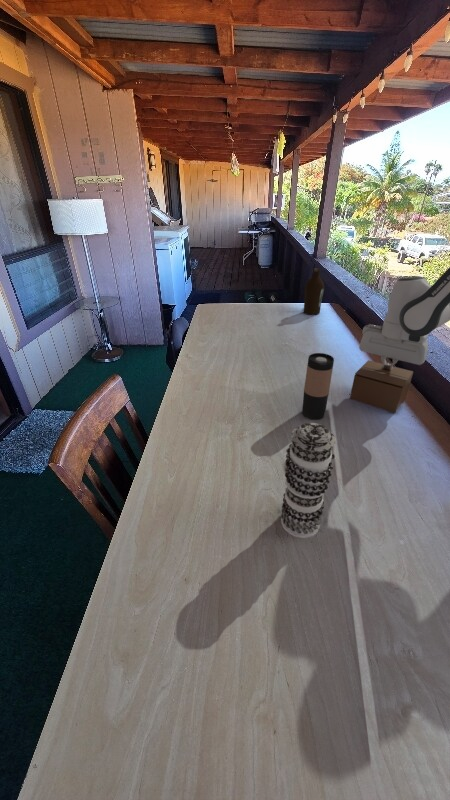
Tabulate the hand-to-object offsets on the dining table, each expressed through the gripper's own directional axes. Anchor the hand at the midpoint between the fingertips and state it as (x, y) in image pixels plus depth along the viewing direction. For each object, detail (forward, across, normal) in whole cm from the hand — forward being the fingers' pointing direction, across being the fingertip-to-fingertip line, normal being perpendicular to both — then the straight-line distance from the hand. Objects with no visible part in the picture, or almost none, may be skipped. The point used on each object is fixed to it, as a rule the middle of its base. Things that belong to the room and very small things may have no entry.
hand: (386, 369), depth 117 cm
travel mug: (+12, -14, -24) cm, 30 cm away
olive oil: (+12, -63, +77) cm, 100 cm away
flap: (0, 0, 0) cm, 0 cm away
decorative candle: (+12, +3, -66) cm, 67 cm away
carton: (+11, 0, -3) cm, 12 cm away
